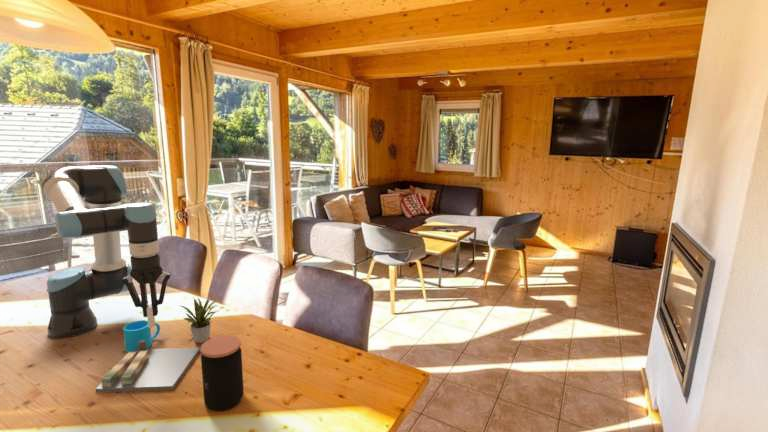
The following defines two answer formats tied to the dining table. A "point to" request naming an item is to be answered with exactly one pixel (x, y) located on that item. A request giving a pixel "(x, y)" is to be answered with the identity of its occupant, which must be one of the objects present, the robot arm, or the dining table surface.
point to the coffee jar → (222, 372)
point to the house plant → (200, 321)
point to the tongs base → (122, 365)
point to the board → (157, 371)
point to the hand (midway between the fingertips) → (151, 325)
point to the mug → (138, 334)
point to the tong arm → (134, 367)
